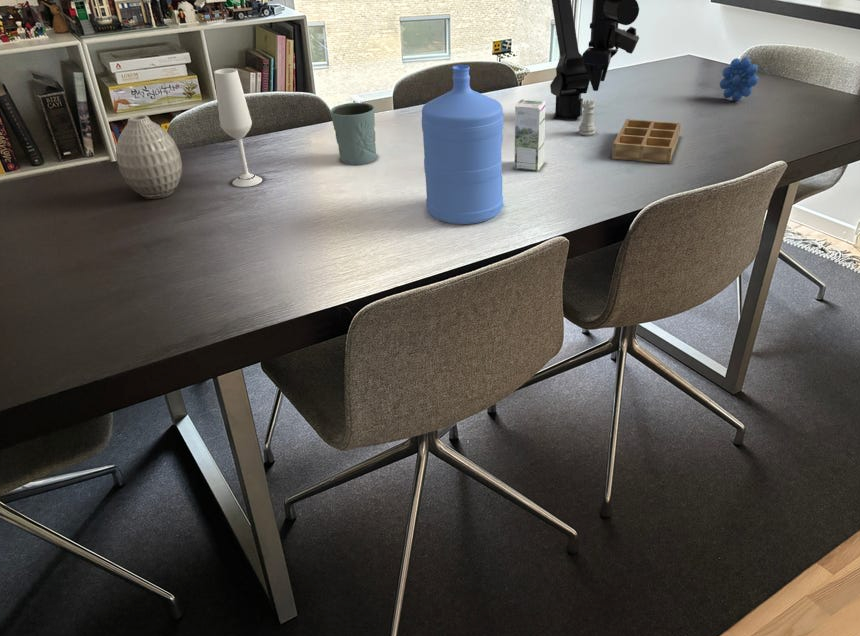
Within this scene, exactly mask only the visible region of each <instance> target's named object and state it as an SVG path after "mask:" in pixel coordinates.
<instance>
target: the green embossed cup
mask: <svg viewBox="0 0 860 636" xmlns="http://www.w3.org/2000/svg"><path fill="white" fill-rule="evenodd" d="M375 116H376V114H375V107H374V105H373V104H370V103H367V102H347V103H342V104H338V105H336V106H333V107H332V108H331V109H330V118H331V121H332V125H333V130H334V131H335V139H336V143H337V145H338V146H337V147H338V152H339V157H340V161H341V162H342V163H343V164H346V165H350V166H362V165H367V164H371V163H372V162H374V161H376V160H377V148H376V147H377V145H376V131H375V126H376V117H375Z"/></svg>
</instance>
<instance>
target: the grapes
mask: <svg viewBox="0 0 860 636" xmlns="http://www.w3.org/2000/svg"><path fill="white" fill-rule="evenodd" d="M758 68H759V67H758V65H757V64H755V63H752V59H751V58H750V57H749V56H748V57H747V56H745V57H743V58H741V59H740V58H733V59H732V60H731V62H730V63H729V66H726V67H725V68H723V70H722V71H721V72H722V75H721V76H722V77H723V78H722V79H721V80H720V82H719V88H720V89H723V90H724V91H723V97H724V98H725V99H730V98H731V99H732V101H734V102H738V101H739V102H740V100H742V98H743V97H745V98H747V97H749V96H750V95H752V92H753V88H752V87H755V86H756V85H757V84H758V82H759V77H758V76H757V75H756V73H757V72H758Z"/></svg>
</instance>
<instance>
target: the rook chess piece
mask: <svg viewBox="0 0 860 636" xmlns="http://www.w3.org/2000/svg"><path fill="white" fill-rule="evenodd" d="M582 106H583V107H582V109H583V110H582V114H583V116H582V120H581V122H580V125H579V126H578V134H579V135H580V136H583V137H591V136H594V135H595V134H596V133H597V132H596V130H597V127H596V125H595V123H594V113H595V110H594V109H595V107H596V104H595V101H594V100H589V99H587V100H583V105H582Z"/></svg>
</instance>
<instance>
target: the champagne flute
mask: <svg viewBox="0 0 860 636" xmlns="http://www.w3.org/2000/svg"><path fill="white" fill-rule="evenodd" d="M238 71H239V70H238V69H237V68H233V67H231V68H230V67H227V68H219V69H216V70H214V71H213V75H214V83H215V92H216V101H217V109H218V119H219V126H220V129H222V131H223V132H224V133H225V134H227V135H228V136H229V137H231V138H232V139H235V140H236V144H237V150H238V156H239V160H240V165H241V169H242V174H240V175H239V176H238V177H240V178H243V179H247V178H251V177H253V176H254V175H255V174H253V173H250V172H249V169H248V164H247V158H246V153H245V147H244V142H243V139H244V138H245V137H246V136H247V134H248V133H249V131H250V130H251V128H252V125H253V123H252V122H253V121H252V117H251V114H250V111H249V107H248V102H247V100H246V95H245V92H244V89H243V85H242V81H241V78H240V75H239V72H238ZM238 177H236V178H235V179H234V180H233V181H232V183H231V184H232V185H233V186H235V187H240V188H246V187H252V186H256V185H259V184H261V183H262V182H263V178H262V177H260V176H258V175H255V177H254V178H253V179H250V180H239V179H238Z"/></svg>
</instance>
